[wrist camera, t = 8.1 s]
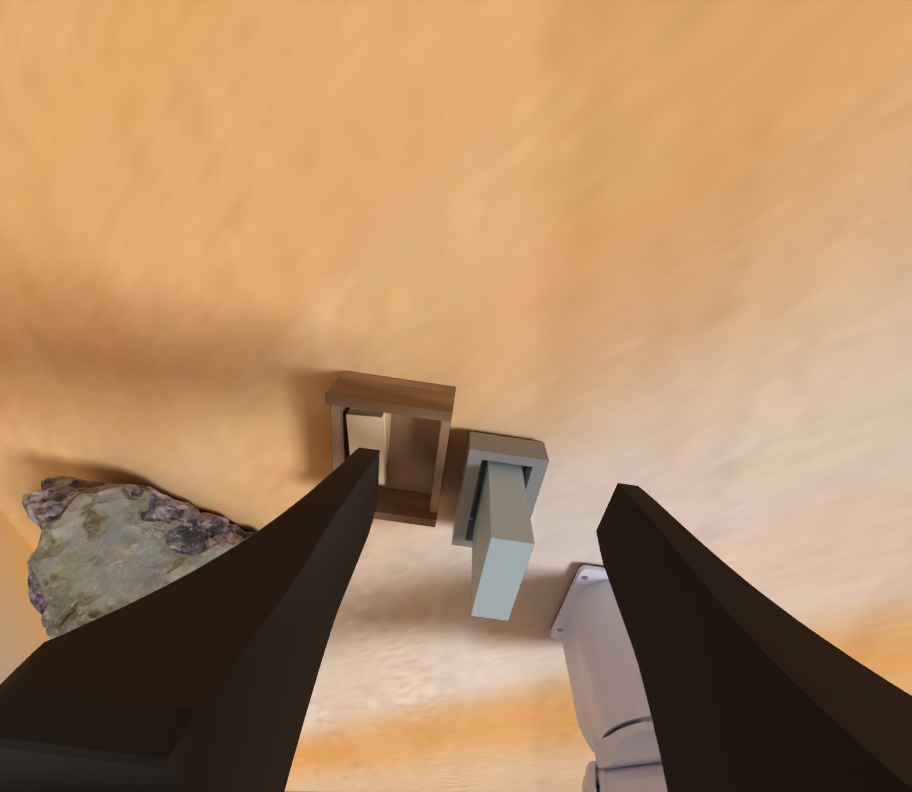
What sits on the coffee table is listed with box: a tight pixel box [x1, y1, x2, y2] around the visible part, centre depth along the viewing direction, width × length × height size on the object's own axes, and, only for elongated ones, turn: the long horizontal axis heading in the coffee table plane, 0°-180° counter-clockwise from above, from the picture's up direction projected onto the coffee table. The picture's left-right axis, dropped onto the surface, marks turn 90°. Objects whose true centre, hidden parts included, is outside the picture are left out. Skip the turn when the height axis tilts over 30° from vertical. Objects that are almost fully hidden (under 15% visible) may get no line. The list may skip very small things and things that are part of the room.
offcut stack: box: [346, 408, 391, 486], centre depth 21 cm, size 6×2×1 cm, turn 172°
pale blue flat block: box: [471, 460, 534, 621], centre depth 21 cm, size 6×2×7 cm, turn 172°
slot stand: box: [452, 431, 549, 547], centre depth 23 cm, size 8×5×2 cm, turn 172°
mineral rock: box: [22, 476, 256, 639], centre depth 23 cm, size 13×11×10 cm
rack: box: [325, 371, 456, 527], centre depth 21 cm, size 8×7×3 cm
